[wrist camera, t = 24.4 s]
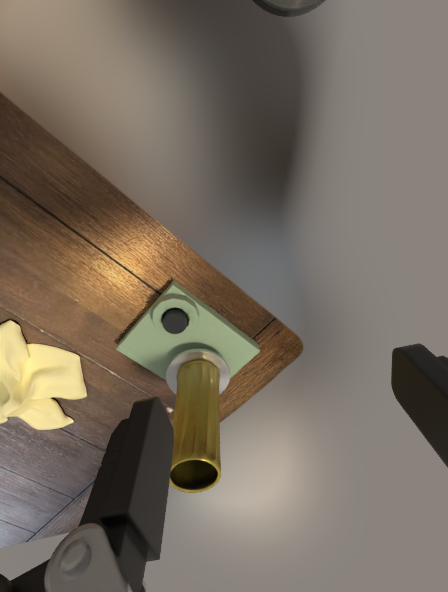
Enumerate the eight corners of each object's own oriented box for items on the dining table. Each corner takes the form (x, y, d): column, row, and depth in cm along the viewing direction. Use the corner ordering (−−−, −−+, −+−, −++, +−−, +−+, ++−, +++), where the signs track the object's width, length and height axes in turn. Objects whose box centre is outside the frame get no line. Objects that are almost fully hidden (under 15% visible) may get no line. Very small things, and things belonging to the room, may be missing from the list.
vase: (173, 390, 42) (157, 493, 29) (180, 355, 39) (167, 451, 26) (214, 396, 43) (217, 498, 30) (224, 363, 40) (232, 459, 27)
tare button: (159, 319, 38) (157, 325, 36) (173, 303, 37) (172, 309, 36) (177, 332, 39) (176, 338, 37) (192, 317, 38) (191, 323, 37)
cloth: (-24, 302, 39) (-62, 326, 33) (108, 358, 44) (94, 387, 38) (-58, 411, 46) (-94, 445, 41) (58, 448, 51) (40, 483, 46)
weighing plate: (153, 377, 41) (152, 380, 41) (194, 336, 39) (193, 339, 38) (201, 407, 44) (201, 410, 44) (242, 371, 42) (243, 374, 41)
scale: (119, 341, 43) (112, 356, 39) (174, 279, 39) (171, 289, 36) (202, 394, 48) (202, 411, 44) (258, 343, 44) (262, 357, 41)
